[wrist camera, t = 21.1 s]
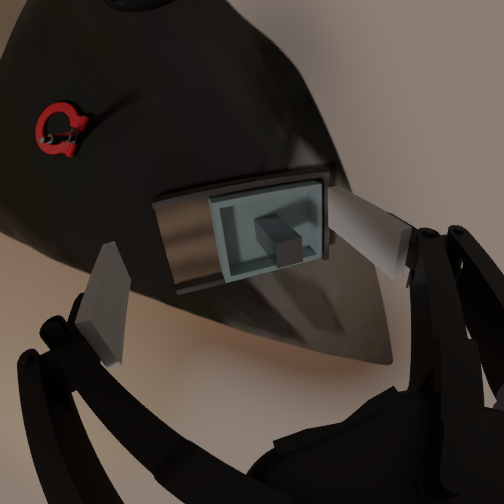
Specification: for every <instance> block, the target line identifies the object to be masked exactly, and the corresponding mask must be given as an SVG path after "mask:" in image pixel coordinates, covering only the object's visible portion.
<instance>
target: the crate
mask: <svg viewBox="0 0 504 504" xmlns="http://www.w3.org/2000/svg"><path fill="white" fill-rule="evenodd" d="M208 200H209V206H210V211H211V217H212V223H213V229H214V234H215V240H216V245H217V250H218V256H219V261H220V266H221V271H222V274H223V276H224V279H225V282H226V283H227V282H231V281H235V280H239V279H243V278H247V277H251V276H255V275H259V274H263V273H267V272H271V271H274V270H278V269H282V268H286V267H290V266H293V265H297V264H301V263H305V262H308V261H312V260H316V259H319V258H321V256H322V184H321V183H319V182H316V181H314V180H312V179H306V180H299V181H293V182H286V183H280V184H274V185H268V186H262V187H256V188H251V189H245V190H240V191H235V192H229V193H224V194H219V195H214V196H209V197H208ZM273 214H277V215H278V216H279V217H280V218H281V219H282V220H284V221H285V222H286V223H287V224H288V225H289V226H290V227H292V228H293V229H294V230H295V231H296V232H297V233H298V234H299V235H300V236H302V247H303V262H299V263H296V264H292V265H289V266H285V267H282V268H277V267H276V266H275V264H274V263H273V262H272V260H271V259H270V258H269V256H268V255H267V254H266V252H265V251H264V250H263V248H262V247H261V246H260V244H259V243H258V242H257V240H256V233H255V225H254V219H256V218H260V217H265V216H269V215H273Z"/></svg>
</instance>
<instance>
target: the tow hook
mask: <svg viewBox="0 0 504 504" xmlns="http://www.w3.org/2000/svg"><path fill="white" fill-rule="evenodd" d="M56 112H64V113H66V114H67V115H68V117H69V119H70V125H71V126H72V127H74V128H76V129H71V131H70V132H66V133H64V134H50V135H47V136H46V137H45V135H44V128H45V124H46V122H47V120H48V118H49V117H50V116H51V115H52V114H54V113H56ZM88 120H89V118H88V117H86V116H79V114H78V112H77V110H76V109H75V107H73V106H72V105H71V104H68V103H65V102H58V103H55V104H52V105H51V106H49V107H48V108H46V110H45V111H44V112H43V113H42V114H41V116H40V118H39V120H38V122H37V125H36V140H37V143H38V145H39V147H40V148H41V149H42V150H43V151H44V152H46V153H48V154H58V153H65V155H66V156H68V157H73V155H74V153H75V150H76V148H77V145H78V144H79V142H80V140H81V137H82V135H83V133H84V132H83V131H84V129H85V127H86V125H87V123H88ZM59 142H61V143H60V144H57V145H53V144H52V143H59Z"/></svg>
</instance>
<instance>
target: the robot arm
mask: <svg viewBox="0 0 504 504" xmlns="http://www.w3.org/2000/svg"><path fill="white" fill-rule="evenodd" d="M171 1H172V0H104V2H105V3H106V4H107V5H108V6H110V7H111V8H113V9H116V10H119V11H124V12H141V11H147V10H151V9H155V8H158V7H160V6H163V5H165V4H167V3H169V2H171ZM328 227H329V228H331V229H332V230H333V231H334V232H336V233H337V234H338V235H339V236H341V237H342V238H343V239H344V240H346V241H347V242H348V243H349V244H351V245H352V246H353V247H354V248H355V249H357V250H358V251H359V252H360V253H361V254H363V255H364V256H365V257H366V258H367V259H369V260H370V261H371V262H372V263H373V264H374V265H376V266H377V267H378V268H379V269H380V270H381V271H383V272H384V273H385V274H386V275H387V276H388V277H389V278H391V279H392V280H395V279H397V278H399V277H402V276H403V274H404V270H405V265H406V266H407V267H409V269H410V272H409V276H408V281H407V285H406V288H408V285H410V302H411V366H410V380H409V386H408V389H407V390H406V391H401V392H398V391H397V390H396V388H395V387H394V386H392V387H391V388H389V389H387V390H386V391H384V392H382V393H380V394H379V395H377V396H375V397H373V398H372V399H370V400H368V401H367V402H366V403H365V404H363V405H362V406H361V407H360V408H359V409H358V410H357V411H355V412H354V413H353V414H352V415H351V416H349V417H348V418H347V419H346V420H344V421H343V422H341V423H336V424H331V425H326V426H321V427H316V428H309V429H305V430H302V431H300V432H297V433H294V434H291V435H289V436H286V437H283V438H280V439H277V440H274V441H273V444H274V448H273V449H271V450H270V451H268V452H267V453H265V454H264V455H263V456H261V457H260V458H259V459H258V460H257V461H256V462H255V463H254V464H253V465H252V467H251V468H250V469H249V471H248V472H247V474H246V475H245V474H243V473H241V472H240V471H238V470H236V469H235V468H233V467H231V466H229V465H228V464H226V463H224V462H223V461H221V460H219V459H218V458H216V457H214V456H213V455H211V454H210V453H208V452H207V451H205V450H204V449H202V448H201V447H199V446H198V445H196V444H195V443H193V442H191V441H189V440H187V439H185V438H184V437H182V436H181V435H180V434H178V433H177V432H176V431H174V430H173V429H171V428H170V427H169V426H168V425H167V424H165V423H164V422H163V421H161V420H160V419H159V418H158V417H157V416H155V415H154V414H153V413H152V412H150V411H149V410H148V409H147V408H146V407H145V406H144V405H142V404H141V403H140V402H139V401H138V400H137V399H136V398H135V397H133V396H132V395H131V394H130V393H129V392H128V391H127V390H126V389H125V388H124V387H123V386H122V385H121V384H120V383H118V381H117V380H116V379H115V378H114V377H113V376H112V375H111V374H110V373H109V372H108V371H107V370H106V369H105V368H104V367H103V366H102V365H101V364H100V361H102V362H103V363H104V365H105V366H106V367H107V368H110V367H115V366H121V365H122V353H123V341H124V330H125V320H126V312H127V303H128V296H129V289H130V283H131V279H130V277H129V275H128V273H127V270H126V268H125V266H124V263H123V261H122V258H121V256H120V254H119V251H118V249H117V246H116V244H115V241H113V242H110V243H107V244H104V245H103V246H102V248H101V251H100V253H99V256H98V258H97V261H96V263H95V266H94V268H93V271H92V273H91V276H90V279H89V282H88V284H87V287H86V290H85V292H84V293H80V294H79V295H78V297H77V298H76V299H75V301H74V303H73V306H72V309H71V312H70V315H69V318H68V321H67V322H66V321H65V319H64V318H63V317H62V316H60V315H58V316H57V315H56V316H53V317H51V318H50V319H48V320H47V321H46V322H45V323H44V324H43V325H42V327H41V329H40V332H39V334H40V337H41V338H42V340H43V341H44V342H45V344H47V346H48V347H49V349H50V351H48V352H46V353H44V354H42V355H39V353H38V352H37V351H36V350H35V349H28V350H26V351H25V352H24V353H22V354H21V356H20V357H19V360H18V362H17V372H18V373H17V374H18V385H19V394H20V402H21V408H22V414H23V420H24V426H25V430H26V435H27V439H28V444H29V447H30V451H31V455H32V459H33V462H34V466H35V469H36V472H37V475H38V478H39V481H40V483H41V486H42V489H43V492H44V494H45V496H46V499H47V502H48V504H124V503H123V501H122V499H121V498H120V496H119V495H118V493H117V491H116V490H115V488H114V486H113V485H112V483H111V481H110V480H109V478H108V476H107V474H106V472H105V470H104V469H103V467H102V465H101V463H100V461H99V459H98V457H97V455H96V453H95V451H94V448H93V446H92V444H91V442H90V440H89V438H88V435H87V433H86V430H85V428H84V426H83V423H82V421H81V418H80V416H79V413H78V410H77V407H76V405H75V402H74V399H73V396H72V393H71V392H74V391H76V390H77V391H78V393H79V394H80V395H81V397H82V398H83V399H84V401H85V402H86V403H87V405H88V406H89V407H90V408H91V410H92V411H93V412H94V413H95V415H96V416H97V417H98V418H99V419H100V421H101V422H102V423H103V424H104V425H105V426H106V428H107V429H108V430H109V431H110V432H111V433H112V434H113V435H114V437H115V438H116V439H117V440H118V441H119V442H120V443H121V444H122V445H123V446H124V447H125V448H126V449H127V450H128V451H129V452H130V453H131V454H132V455H133V456H134V457H135V458H136V459H137V460H138V461H139V462H140V463H141V464H142V465H143V466H144V467H146V468H147V469H148V470H149V471H150V472H151V473H152V474H153V475H154V478H155V479H156V481H157V482H158V483H159V484H160V485H162V486H163V487H164V488H165V489H166V490H168V491H169V492H170V493H171V494H173V495H174V496H175V497H176V498H178V499H179V500H181V501H182V502H183V503H185V504H504V275H503V273H502V272H501V271H500V269H499V268H498V267H497V265H496V264H495V263H494V261H493V260H492V259H491V258H490V256H489V255H488V254H487V253H486V251H485V250H484V249H483V248H482V247H481V246H480V244H479V243H478V242H477V241H476V240H475V238H474V237H473V236H472V235H471V234H470V233H469V232H468V231H467V230H466V229H465V228H463V227H462V226H459V225H457V226H455V225H452V226H450V227H449V228H448V233H447V235H440V234H439V233H438V232H437V231H436V230H433V229H430V228H420V229H416V228H415V227H413V226H412V225H410V224H408V223H407V222H405V221H403V220H401V219H400V218H398V217H396V216H395V215H393V214H391V213H388V212H385V211H384V210H382V209H380V208H378V207H377V206H375V205H373V204H371V203H369V202H368V201H366V200H364V199H362V198H360V197H358V196H356V195H355V194H353V193H351V192H349V191H347V190H345V189H343V188H341V187H339V186H333V187H328ZM462 261H463V267H462V268H461V265H462ZM466 327H467V329H468V331H469V333H470V336H471V338H472V339H468V337H467V331H466ZM480 361H481V362H480ZM481 364H482V367H483V370H484V373H485V376H486V378H487V381H488V384H489V386H490V388H491V390H492V392H493V394H494V396H495V398H496V400H497V402H496V403H495V404H494V405H493V408H488V407H484V393H483V392H484V391H483V380H482V370H481Z"/></svg>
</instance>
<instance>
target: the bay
mask: <svg viewBox="0 0 504 504" xmlns="http://www.w3.org/2000/svg"><path fill="white" fill-rule="evenodd" d="M306 179H312V180H314V181H316V182H319V183H321V184H322V256H321V258H322V259H323V260H328V259H329V237H330V228H329V227H328V187H330V172H327V171H325V170H322V169H319V168H314V169H306V170H298V171H291V172H284V173H277V174H271V175H264V176H258V177H252V178H246V179H240V180H235V181H229V182H224V183H219V184H214V185H209V186H204V187H199V188H194V189H189V190H185V191H180V192H176V193H171V194H167V195H163V196H159V197H155V198H153V200H152V206H153V209H155V212H156V216H157V220H158V224H159V228H160V232H161V236H162V239H163V243H164V247H165V250H166V254H167V258H168V261H169V265H170V268H171V271H172V275H173V278H174V281H175V286H176V292H177V295H179V294H183V293H187V292H192V291H196V290H200V289H204V288H208V287H212V286H216V285H220V284H224V283H226V282H225V279H224V276H223V274H222V271H221V266H220V261H219V256H218V250H217V245H216V240H215V234H214V229H213V223H212V217H211V211H210V206H209V200H208V197H209V196H214V195H219V194H224V193H229V192H235V191H240V190H245V189H251V188H256V187H262V186H268V185H274V184H280V183H286V182H293V181H299V180H306ZM319 259H320V258H319ZM316 260H317V259H316ZM312 261H313V260H312ZM308 262H309V261H308ZM305 263H306V262H305ZM301 264H302V263H301ZM297 265H298V264H297ZM293 266H294V265H293ZM290 267H291V266H290ZM286 268H287V267H286ZM282 269H283V268H282ZM278 270H279V269H278ZM274 271H276V270H274ZM271 272H272V271H271ZM267 273H268V272H267ZM263 274H264V273H263ZM259 275H260V274H259ZM255 276H256V275H255ZM251 277H252V276H251ZM247 278H248V277H247ZM243 279H244V278H243ZM239 280H240V279H239ZM235 281H236V280H235ZM231 282H232V281H231ZM227 283H228V282H227Z"/></svg>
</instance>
